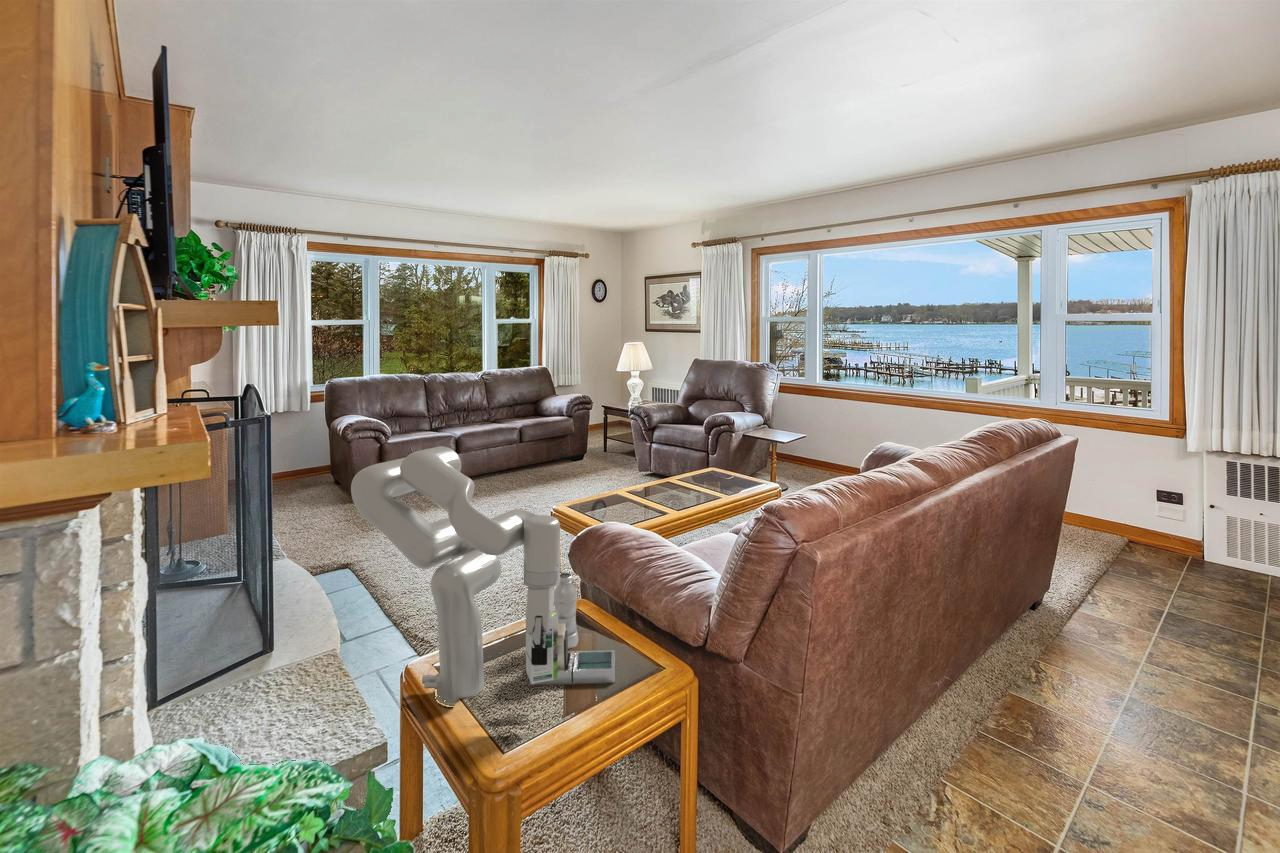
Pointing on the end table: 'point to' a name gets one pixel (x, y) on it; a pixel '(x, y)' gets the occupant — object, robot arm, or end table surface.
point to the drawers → (587, 668)
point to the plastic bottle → (567, 607)
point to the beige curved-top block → (562, 647)
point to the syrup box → (551, 668)
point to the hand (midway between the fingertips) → (541, 654)
